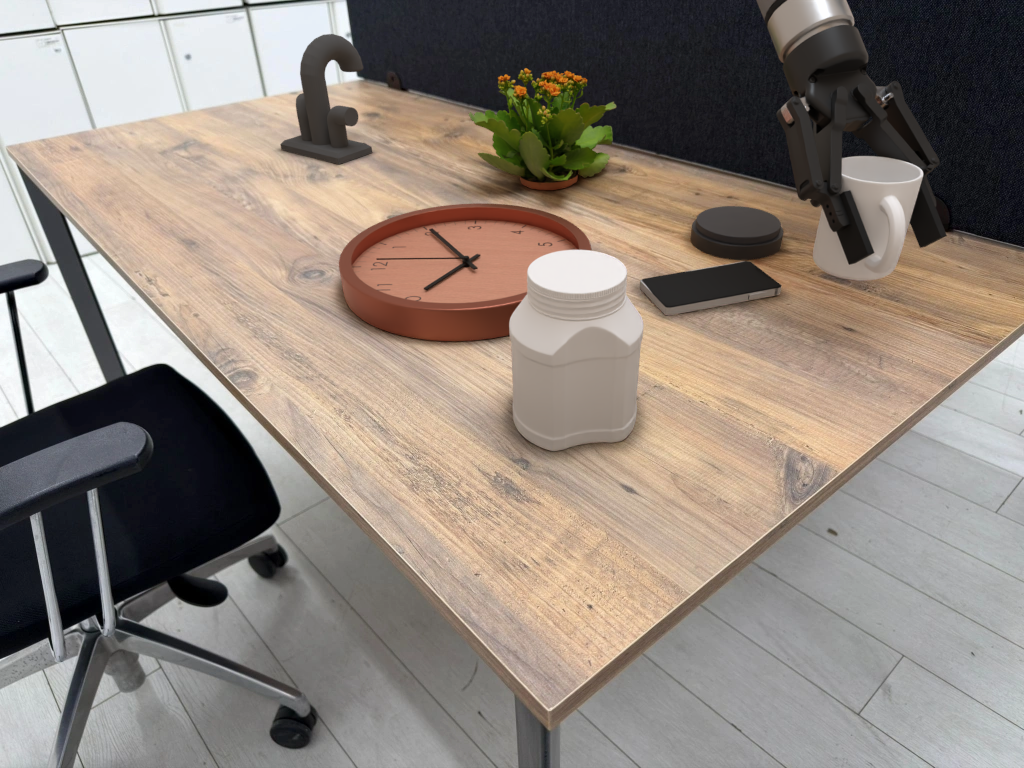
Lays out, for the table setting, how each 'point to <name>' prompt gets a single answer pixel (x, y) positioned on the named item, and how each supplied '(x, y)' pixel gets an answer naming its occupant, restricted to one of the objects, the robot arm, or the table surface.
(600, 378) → the jar
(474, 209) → the clock
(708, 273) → the smartphone
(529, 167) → the potted flower
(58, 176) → the table surface
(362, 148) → the faucet
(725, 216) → the stand
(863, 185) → the mug
